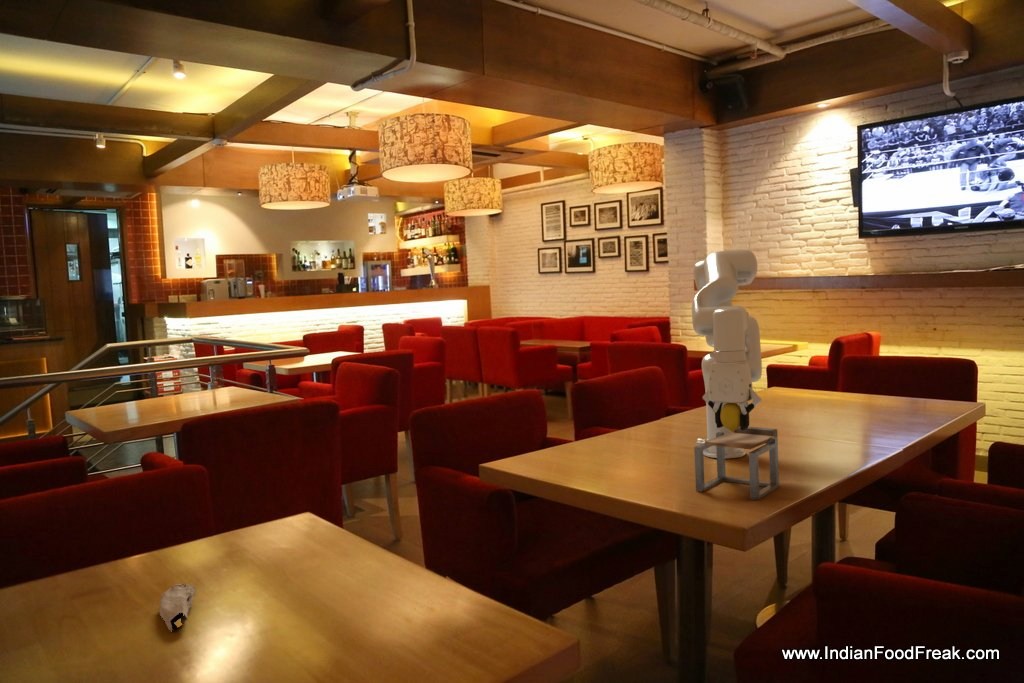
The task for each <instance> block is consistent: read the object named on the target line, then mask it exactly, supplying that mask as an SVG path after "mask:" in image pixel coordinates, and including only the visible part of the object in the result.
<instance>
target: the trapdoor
mask: <svg viewBox="0 0 1024 683" xmlns="http://www.w3.org/2000/svg"><path fill="white" fill-rule="evenodd" d="M770 437H777V440H779V439H778V438H779V436H778V428H770V427H757V426H748V428H747V429H745V430H741V429H740V427H739V428H738V429H736V430H735V431H734V432H731V433H728V434H725V435H722V436H719V437H716V438H713V439H711V440H708V441H705V445H713V446H723V447H732V448H742V449H744V450H752V449H756V448H757V447H759V446H760V447H761V446H763V445H765V444H767V443H769V438H770Z"/></svg>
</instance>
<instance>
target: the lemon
mask: <svg viewBox="0 0 1024 683" xmlns="http://www.w3.org/2000/svg"><path fill="white" fill-rule="evenodd" d="M740 414H742V411H741V409H740V406H739V403H738V404H737V403H726V404H725V405H724V406H723V407H722V409H721V414H720V418H721V422H722V424H723V426H724V427H725V428H727V429H729V430H730V431H731V432H734V431H735V430H736V429H738V428H739V427H740Z"/></svg>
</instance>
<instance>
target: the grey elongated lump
mask: <svg viewBox="0 0 1024 683" xmlns="http://www.w3.org/2000/svg"><path fill="white" fill-rule="evenodd" d="M195 594H196V587H195V586H194V585H192V584H188V583H176V584H173V585H172V586H171V587H170V588H168V589H167V590H166V591H164V592H162V594H161V595H160V600H158V602H157V603H158V604H159V605H158V610H159V611H158V613H159V612H160V613H159V617H160V616H161V617H160V618H161V619H162V618H163V619H164V621H165V622H164V621H163V622H164V623H165V625H166V626H167V630H168V631H169V630H173V625H172V622H171V621H172V620H173V619H174V618H176V616H177V615H180V614H181V613H184V616H183V617H182V616H180V617H181V623H182V624H183V625H184V624H185V623H186V621H188V618H189V617H188V615H189V613H190V608H191V607H192V605H193V601H194V596H195ZM179 613H180V614H179ZM163 619H162V620H163ZM173 631H174V630H173Z"/></svg>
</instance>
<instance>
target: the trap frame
mask: <svg viewBox="0 0 1024 683" xmlns="http://www.w3.org/2000/svg"><path fill="white" fill-rule="evenodd" d="M722 435H724V433H723V432H718V433H716V437H719V436H722ZM778 440H779V439H778ZM778 440H777V437H770V438H769V443H767V444H762V445H760V447H759V446H758V448H757V447H756V448H754V449H753V450H751V451H750V452H748V460H749V462H748V468H749V479H746V478H742V477H741V478H739V477H733V476H727V472H726V459H725V447H723V446H716V449H717V458H716V468H717V469H716V470H717V471H716V472H717V477H715V478H713V479H711V480H710V481H709V480H708V482H706V483H705V465H704V463H705V462H704V455H703V450H704V449H707V448H709V447H711V446H713V445H705V443H702V444H700V445H698V446H697V445H695V446H694V467H695V468H694V469H695V470H694V474H695V491H696V492H697V491H700V492H699V493H703V492H705V491H707V490H709V489H711V488H713V487H714V485H715V486H716V485H718V484H720V483H722V482H730V483H736V482H737V484H743V483H745V485H749V490H750V491H749V495H750V496H749V497H750V500H751V501H756V500H757V501H759V500H760V499H762V498H763V497H765V496H766V494H767V495H768V494H770V493H771V492H773V491H774V490H776V489H778V488H779V487H780V479H779V477H780V476H779V448H778V447H779V446H778V444H779V442H778ZM768 451H769V452H768ZM765 453H768V455H769V456H768V457H769V481H762V480H760V476H759V475H760V474H759V471H760V470H759V469H760V468H759V456H761V455H763V454H765ZM712 486H713V487H712ZM765 486H767V487H765ZM778 486H779V487H778ZM710 487H711V488H710ZM760 487H763V488H762V489H760ZM777 487H778V488H777ZM708 488H709V489H708ZM775 488H776V489H775ZM706 489H707V490H706ZM704 490H705V491H704ZM772 490H773V491H772ZM702 491H703V492H702ZM769 492H770V493H769ZM761 497H762V498H761ZM758 499H759V500H758Z"/></svg>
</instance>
